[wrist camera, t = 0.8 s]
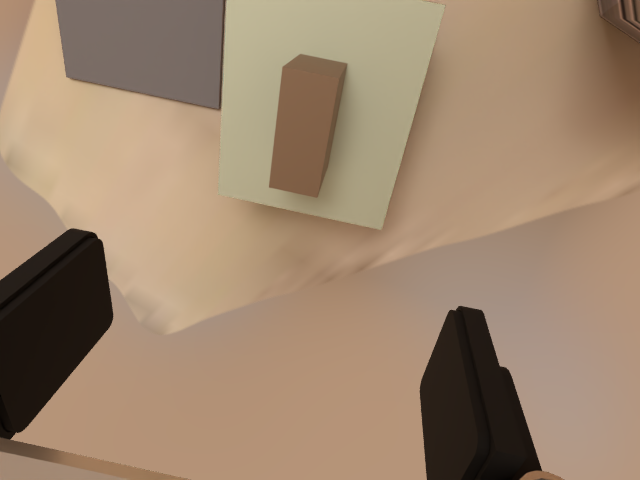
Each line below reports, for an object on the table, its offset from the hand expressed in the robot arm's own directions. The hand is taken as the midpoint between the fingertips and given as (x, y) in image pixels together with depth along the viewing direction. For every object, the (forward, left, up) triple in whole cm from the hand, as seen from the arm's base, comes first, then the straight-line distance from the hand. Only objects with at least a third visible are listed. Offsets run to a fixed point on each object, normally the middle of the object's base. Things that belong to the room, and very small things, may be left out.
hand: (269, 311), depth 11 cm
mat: (-5, -15, -23) cm, 28 cm away
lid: (-1, -1, -17) cm, 17 cm away
